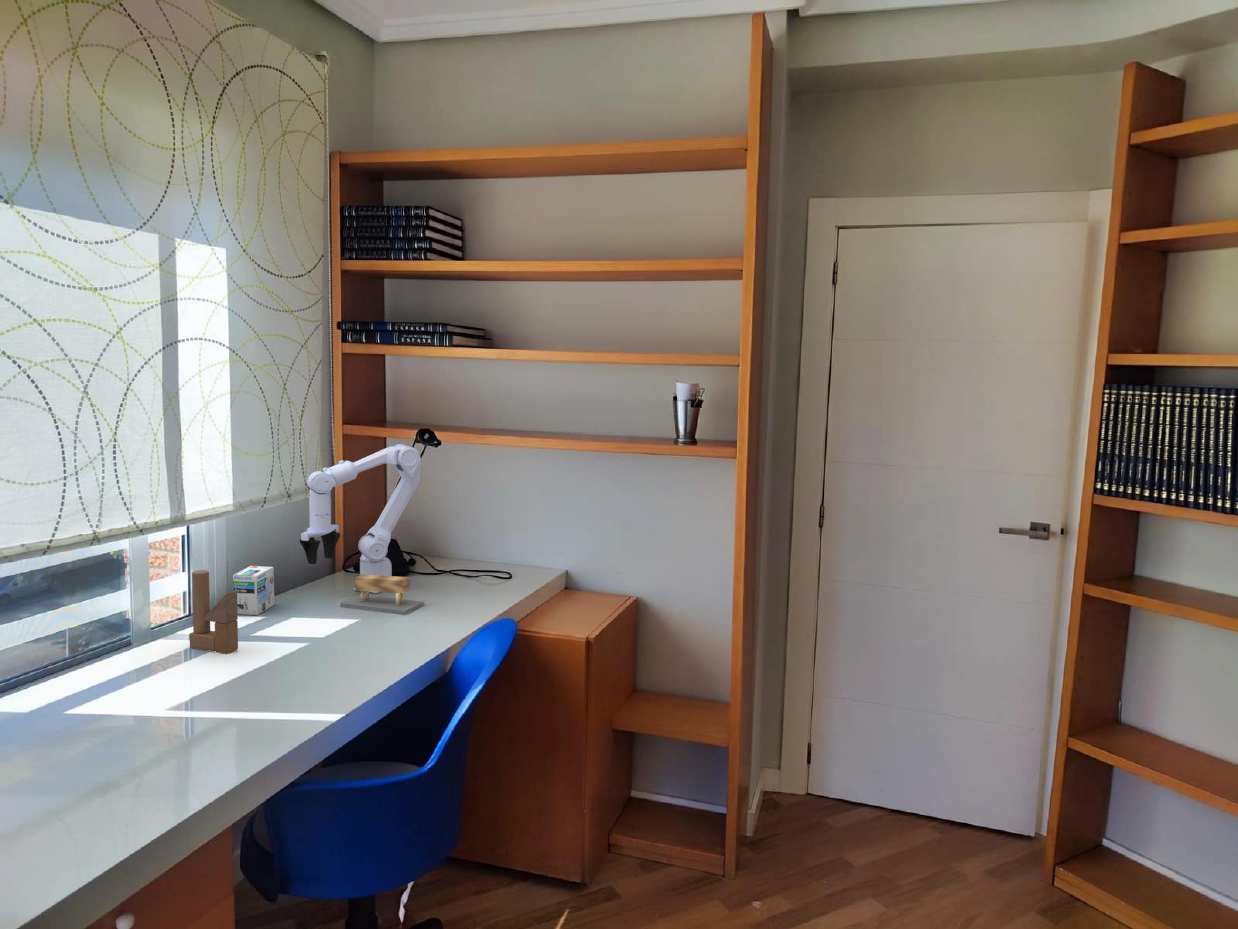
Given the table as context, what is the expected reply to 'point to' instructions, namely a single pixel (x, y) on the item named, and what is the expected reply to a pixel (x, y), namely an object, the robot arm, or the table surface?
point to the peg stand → (382, 603)
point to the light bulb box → (254, 589)
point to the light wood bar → (382, 583)
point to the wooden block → (213, 617)
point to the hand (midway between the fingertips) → (320, 560)
